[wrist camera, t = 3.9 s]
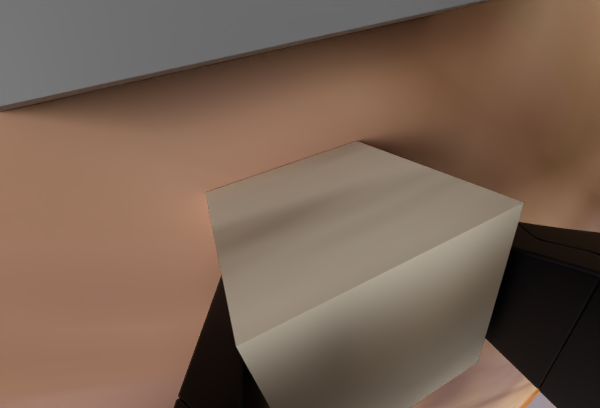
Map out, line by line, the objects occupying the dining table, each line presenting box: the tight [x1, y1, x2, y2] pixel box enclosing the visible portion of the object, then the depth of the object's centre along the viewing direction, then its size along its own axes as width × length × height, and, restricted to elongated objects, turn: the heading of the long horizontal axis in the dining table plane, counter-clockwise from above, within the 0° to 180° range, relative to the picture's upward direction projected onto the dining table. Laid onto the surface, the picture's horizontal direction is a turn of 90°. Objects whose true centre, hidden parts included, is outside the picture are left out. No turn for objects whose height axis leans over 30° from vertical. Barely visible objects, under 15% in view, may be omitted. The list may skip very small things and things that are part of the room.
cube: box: [205, 141, 524, 408], centre depth 7 cm, size 5×5×5 cm
